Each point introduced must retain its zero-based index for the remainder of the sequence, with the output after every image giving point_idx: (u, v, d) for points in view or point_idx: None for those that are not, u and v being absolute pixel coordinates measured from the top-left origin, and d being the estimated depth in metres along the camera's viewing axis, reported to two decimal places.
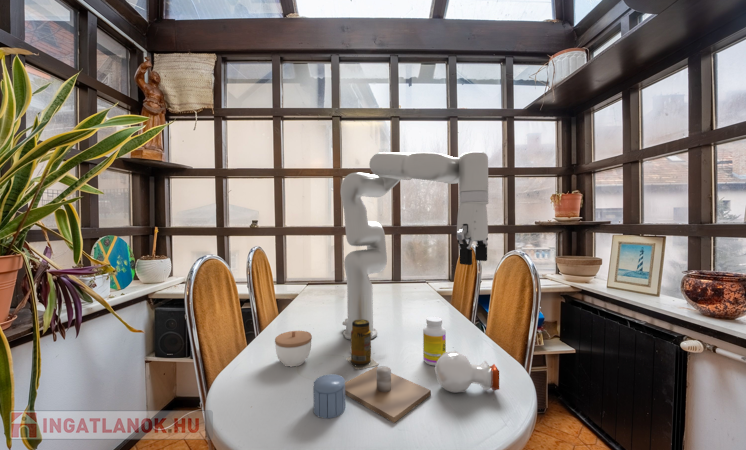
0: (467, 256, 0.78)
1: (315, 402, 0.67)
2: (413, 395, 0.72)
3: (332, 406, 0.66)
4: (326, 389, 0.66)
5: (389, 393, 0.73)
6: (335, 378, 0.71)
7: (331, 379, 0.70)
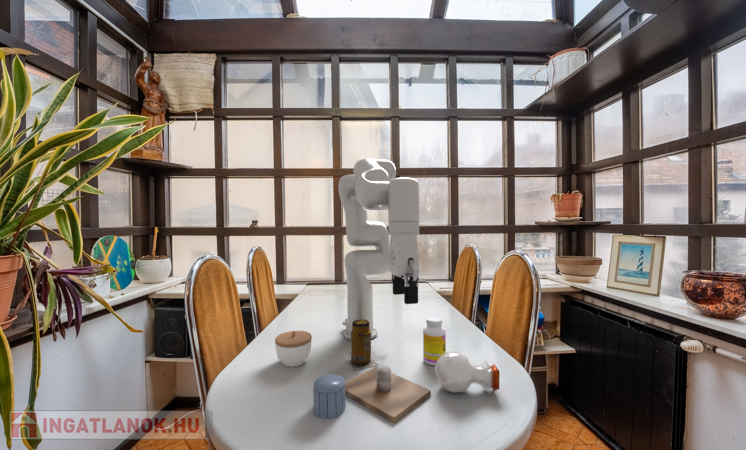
0: None
1: (315, 402, 0.67)
2: (413, 395, 0.72)
3: (332, 406, 0.66)
4: (326, 389, 0.66)
5: (389, 393, 0.73)
6: (335, 378, 0.71)
7: (331, 379, 0.70)
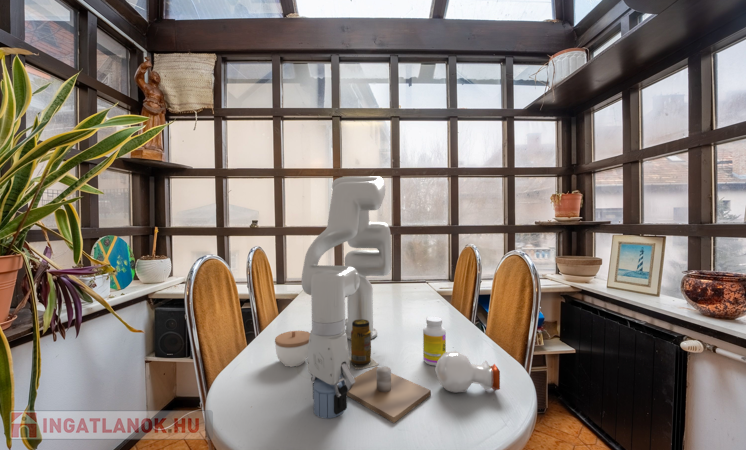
0: None
1: (315, 402, 0.67)
2: (413, 395, 0.72)
3: (332, 406, 0.66)
4: (326, 389, 0.66)
5: (389, 393, 0.73)
6: None
7: None
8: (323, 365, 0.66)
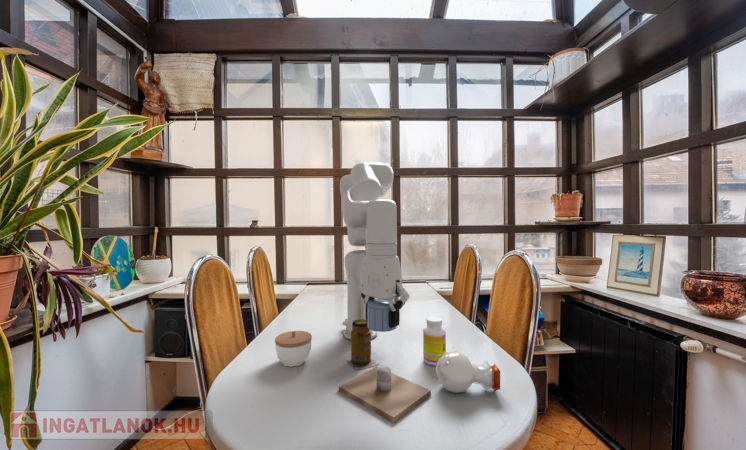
0: None
1: (370, 318, 0.73)
2: (413, 395, 0.72)
3: (387, 321, 0.72)
4: (381, 305, 0.72)
5: (389, 393, 0.73)
6: (386, 300, 0.76)
7: (383, 301, 0.76)
8: (379, 283, 0.72)
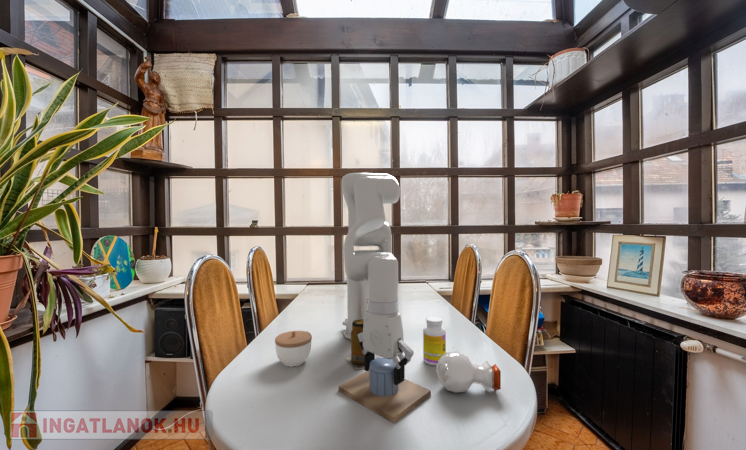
0: None
1: (372, 382, 0.73)
2: (413, 395, 0.72)
3: (389, 385, 0.72)
4: (383, 370, 0.72)
5: None
6: (388, 361, 0.77)
7: (385, 361, 0.76)
8: (380, 341, 0.72)
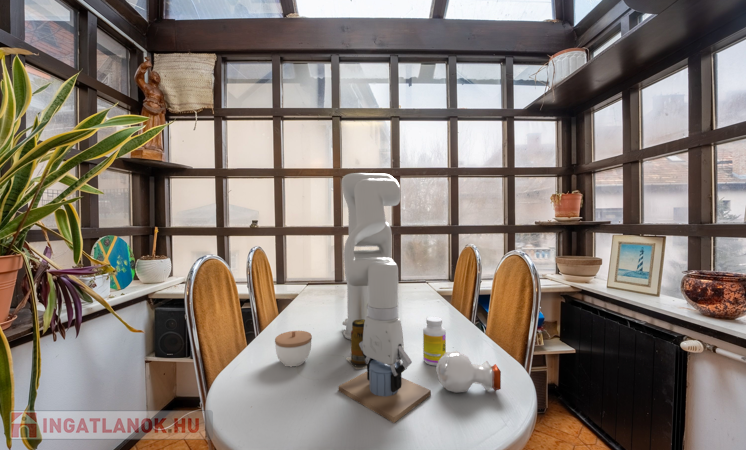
0: None
1: (372, 382, 0.73)
2: (413, 395, 0.72)
3: (389, 385, 0.72)
4: (383, 370, 0.72)
5: None
6: None
7: None
8: (380, 347, 0.72)
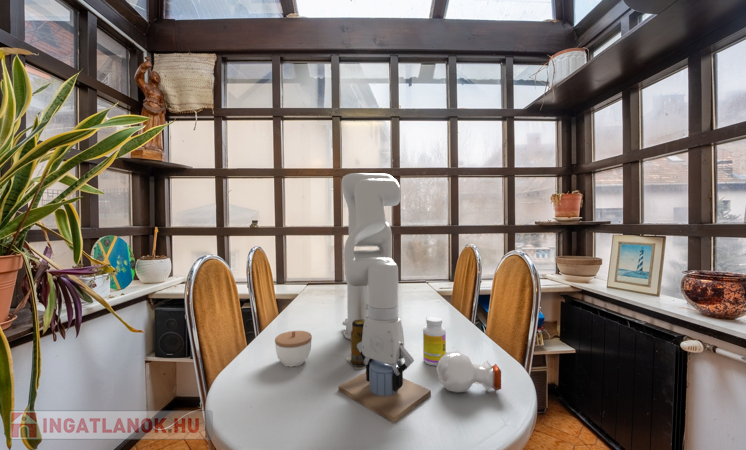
0: None
1: (386, 384, 0.72)
2: (413, 395, 0.72)
3: None
4: None
5: None
6: None
7: (380, 362, 0.76)
8: (382, 347, 0.72)
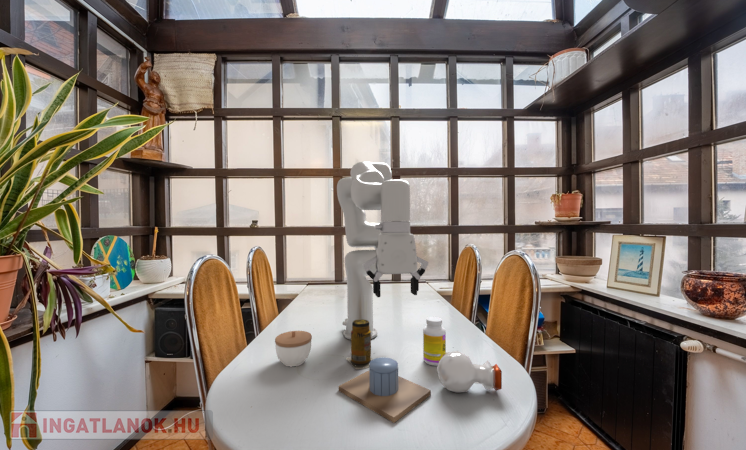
0: None
1: (396, 381, 0.73)
2: (413, 395, 0.72)
3: None
4: (395, 362, 0.76)
5: None
6: (376, 362, 0.76)
7: (379, 363, 0.75)
8: (405, 258, 0.76)
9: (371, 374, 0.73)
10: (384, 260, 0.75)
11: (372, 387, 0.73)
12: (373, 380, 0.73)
